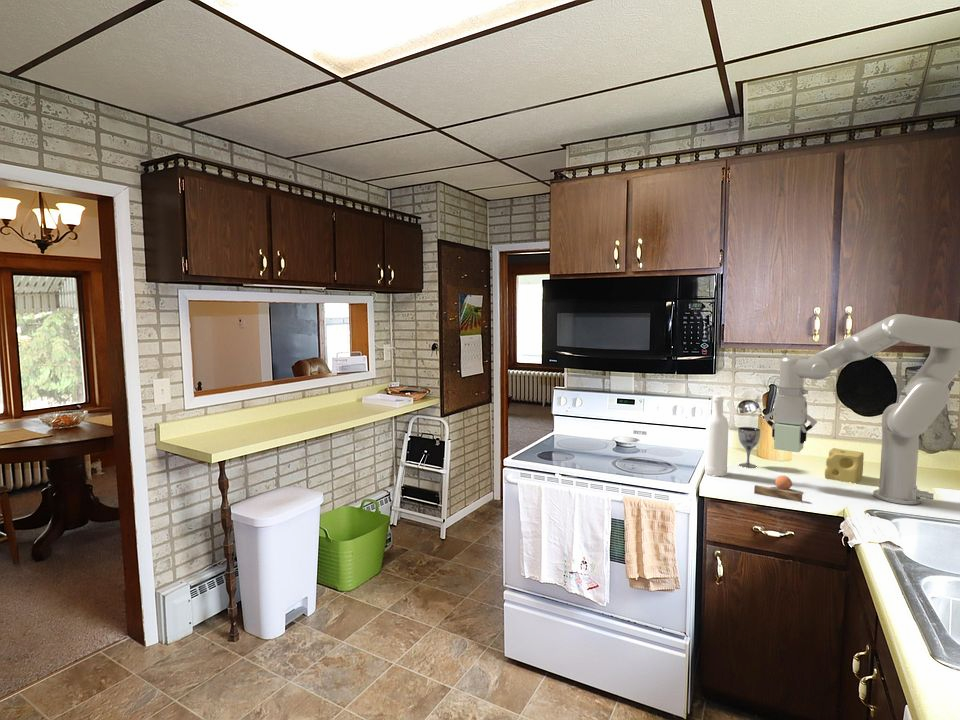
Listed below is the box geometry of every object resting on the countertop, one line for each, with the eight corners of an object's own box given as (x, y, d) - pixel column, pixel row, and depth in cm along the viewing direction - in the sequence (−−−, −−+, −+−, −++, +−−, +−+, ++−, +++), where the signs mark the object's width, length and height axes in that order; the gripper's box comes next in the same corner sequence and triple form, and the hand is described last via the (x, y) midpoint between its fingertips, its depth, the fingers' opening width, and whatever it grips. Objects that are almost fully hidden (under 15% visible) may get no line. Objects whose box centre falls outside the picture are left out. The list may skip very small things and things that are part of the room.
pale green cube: (803, 448, 196) (804, 423, 195) (798, 452, 190) (799, 427, 189) (779, 444, 201) (780, 421, 200) (773, 449, 195) (774, 424, 194)
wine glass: (756, 469, 215) (758, 432, 214) (735, 466, 220) (736, 429, 219) (760, 465, 221) (762, 428, 220) (739, 462, 226) (740, 426, 225)
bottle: (704, 469, 215) (706, 394, 213) (726, 471, 213) (728, 394, 210) (704, 475, 208) (707, 397, 205) (727, 477, 205) (730, 398, 203)
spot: (799, 490, 190) (799, 490, 190) (794, 497, 183) (794, 497, 183) (770, 485, 195) (770, 485, 195) (764, 492, 188) (764, 491, 188)
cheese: (824, 478, 204) (825, 452, 203) (831, 472, 211) (832, 446, 210) (857, 484, 196) (859, 457, 195) (864, 478, 204) (865, 451, 203)
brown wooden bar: (802, 500, 180) (802, 493, 180) (801, 502, 179) (801, 494, 178) (755, 492, 189) (755, 485, 188) (754, 493, 187) (754, 486, 187)
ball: (789, 485, 186) (791, 494, 189) (792, 474, 189) (793, 482, 192) (773, 483, 189) (774, 491, 192) (775, 471, 192) (777, 480, 195)
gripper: (821, 393, 190) (819, 443, 192) (766, 388, 202) (764, 435, 203) (817, 395, 185) (815, 447, 186) (761, 391, 196) (759, 439, 198)
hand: (788, 440), depth 195 cm, fingers closed on pale green cube, 7 cm apart
